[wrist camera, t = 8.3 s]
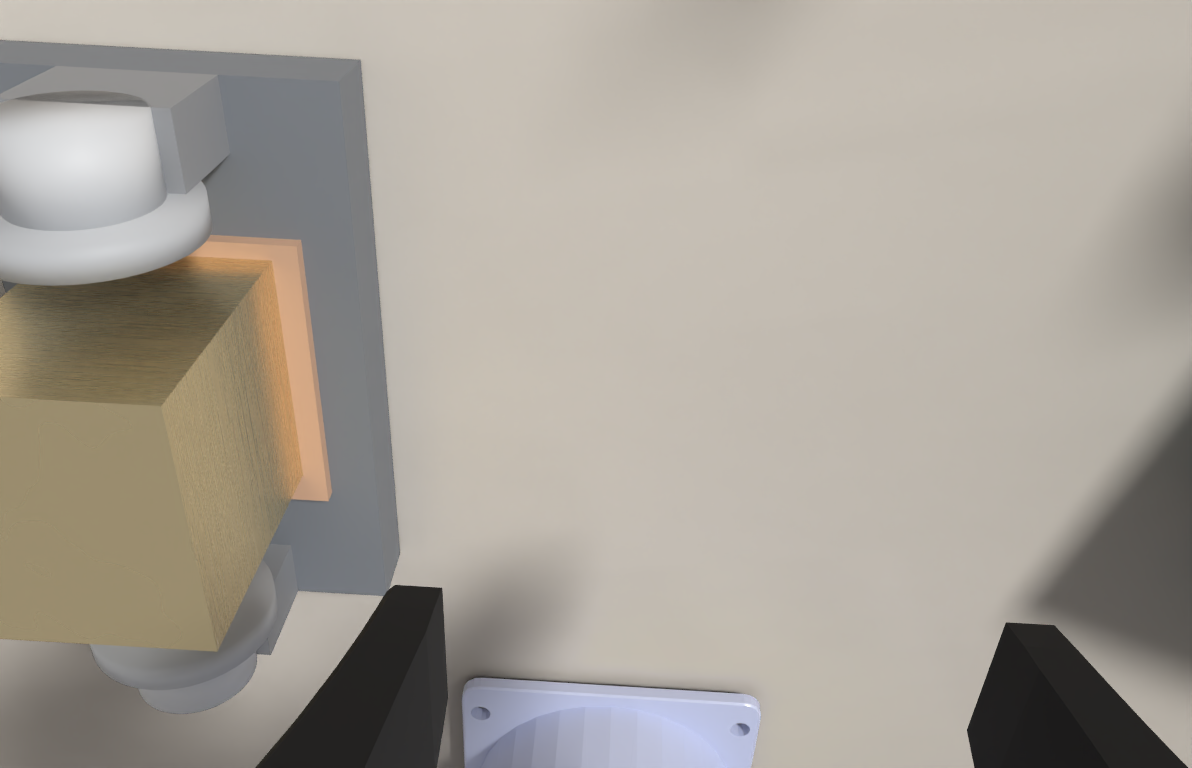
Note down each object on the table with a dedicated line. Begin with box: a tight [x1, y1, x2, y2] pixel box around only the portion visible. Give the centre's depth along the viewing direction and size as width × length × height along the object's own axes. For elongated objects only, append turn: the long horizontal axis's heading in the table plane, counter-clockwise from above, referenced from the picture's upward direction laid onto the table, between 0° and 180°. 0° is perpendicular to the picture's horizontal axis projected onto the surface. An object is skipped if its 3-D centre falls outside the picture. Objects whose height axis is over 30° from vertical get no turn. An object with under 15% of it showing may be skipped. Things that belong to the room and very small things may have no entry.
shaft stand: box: [0, 40, 400, 714], centre depth 19 cm, size 12×7×6 cm, turn 177°
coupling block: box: [0, 256, 303, 652], centre depth 18 cm, size 5×4×5 cm
